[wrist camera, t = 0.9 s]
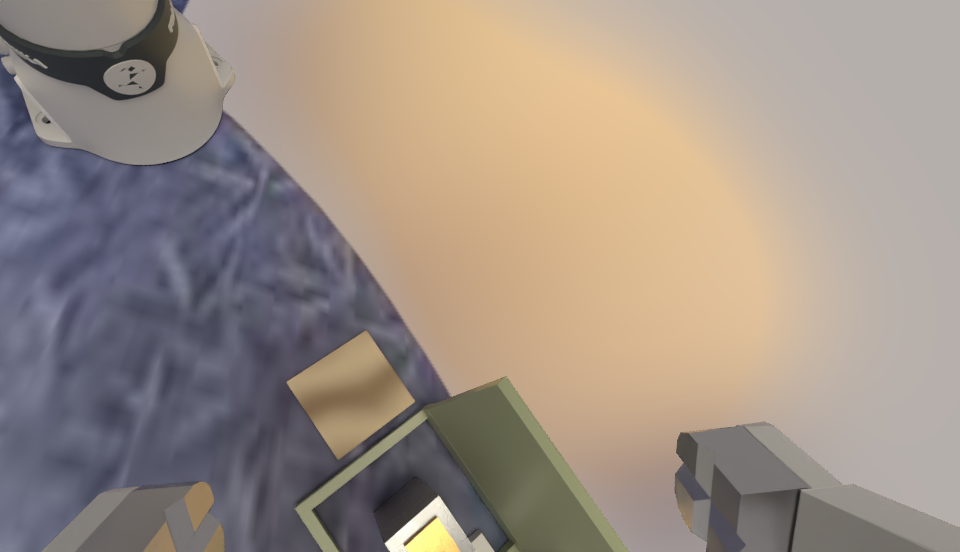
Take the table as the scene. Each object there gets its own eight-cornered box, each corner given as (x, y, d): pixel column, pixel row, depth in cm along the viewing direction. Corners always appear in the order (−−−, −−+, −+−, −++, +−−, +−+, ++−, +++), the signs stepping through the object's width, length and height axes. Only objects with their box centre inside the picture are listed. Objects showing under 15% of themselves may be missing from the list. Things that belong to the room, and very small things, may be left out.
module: (373, 512, 44) (385, 545, 33) (415, 476, 46) (440, 497, 35) (402, 556, 43) (424, 604, 33) (444, 518, 45) (478, 552, 35)
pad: (286, 382, 44) (286, 382, 44) (365, 330, 48) (366, 330, 48) (338, 459, 44) (338, 460, 44) (414, 401, 47) (415, 401, 47)
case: (296, 505, 42) (270, 567, 26) (449, 386, 49) (507, 376, 33) (400, 664, 41) (444, 835, 25) (542, 520, 48) (648, 578, 32)
